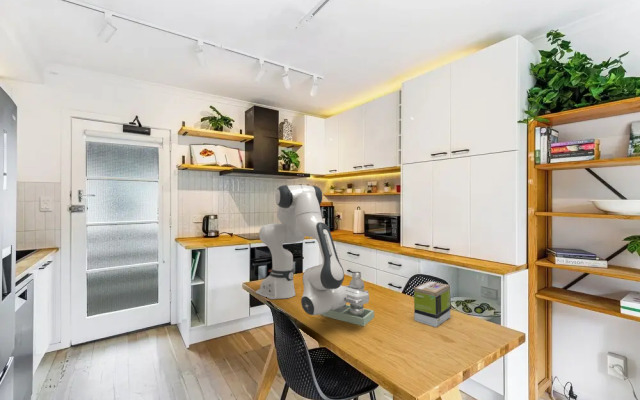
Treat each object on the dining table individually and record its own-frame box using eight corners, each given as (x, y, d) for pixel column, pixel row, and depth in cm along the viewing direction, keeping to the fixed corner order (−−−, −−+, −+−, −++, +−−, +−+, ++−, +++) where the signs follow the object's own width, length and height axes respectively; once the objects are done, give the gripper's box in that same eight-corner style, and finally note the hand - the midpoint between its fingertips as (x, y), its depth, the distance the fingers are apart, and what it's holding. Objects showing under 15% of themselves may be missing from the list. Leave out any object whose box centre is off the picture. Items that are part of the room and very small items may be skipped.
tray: (320, 315, 133) (320, 308, 133) (332, 307, 143) (332, 301, 143) (363, 326, 122) (363, 319, 122) (374, 317, 131) (374, 310, 131)
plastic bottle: (347, 315, 132) (347, 271, 132) (362, 315, 133) (362, 270, 133) (350, 321, 126) (350, 274, 126) (366, 320, 127) (366, 274, 127)
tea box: (429, 311, 139) (429, 280, 139) (451, 318, 131) (451, 284, 131) (413, 320, 128) (413, 286, 128) (436, 328, 121) (436, 291, 121)
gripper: (356, 295, 113) (378, 288, 122) (320, 283, 128) (342, 278, 137) (355, 311, 113) (377, 303, 122) (319, 298, 128) (341, 291, 137)
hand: (358, 289), depth 130 cm, fingers open, 8 cm apart
